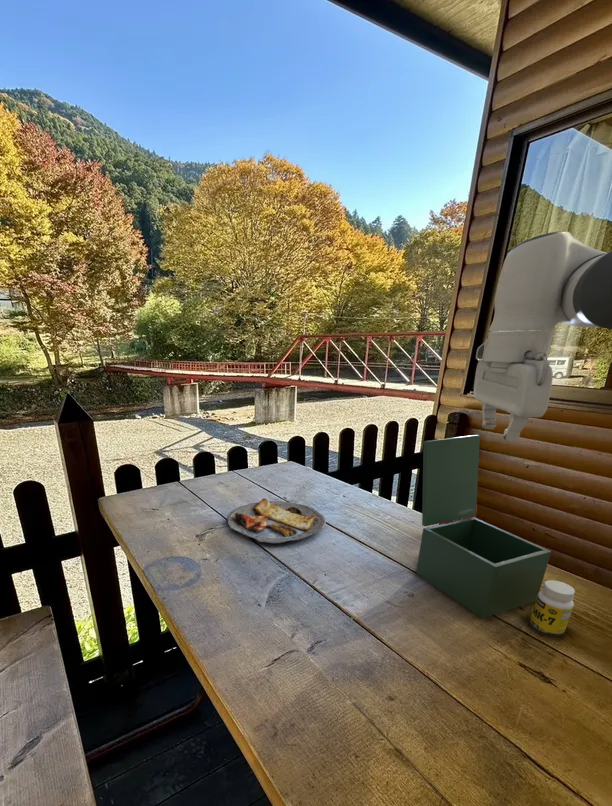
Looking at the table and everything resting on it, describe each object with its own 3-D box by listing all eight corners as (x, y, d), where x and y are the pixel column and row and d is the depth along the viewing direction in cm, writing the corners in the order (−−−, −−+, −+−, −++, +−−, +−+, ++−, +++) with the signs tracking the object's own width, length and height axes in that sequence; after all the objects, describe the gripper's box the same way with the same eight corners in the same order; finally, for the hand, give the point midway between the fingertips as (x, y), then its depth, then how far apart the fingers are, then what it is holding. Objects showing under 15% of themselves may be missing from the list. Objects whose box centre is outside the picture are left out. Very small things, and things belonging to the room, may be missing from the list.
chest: (536, 603, 75) (551, 551, 71) (482, 621, 70) (495, 567, 66) (464, 562, 89) (474, 517, 85) (415, 575, 84) (423, 528, 80)
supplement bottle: (522, 624, 70) (534, 581, 67) (541, 617, 71) (554, 576, 68) (550, 642, 65) (565, 598, 62) (570, 635, 67) (585, 591, 64)
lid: (479, 434, 81) (476, 434, 82) (426, 441, 76) (423, 441, 77) (476, 515, 84) (472, 514, 85) (425, 526, 79) (421, 525, 80)
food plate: (209, 524, 107) (209, 512, 106) (270, 501, 122) (270, 490, 121) (282, 559, 90) (282, 545, 89) (341, 527, 105) (342, 514, 104)
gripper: (575, 352, 56) (549, 450, 61) (510, 348, 75) (495, 423, 80) (524, 353, 57) (503, 448, 62) (473, 348, 76) (460, 422, 81)
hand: (498, 434), depth 71 cm, fingers open, 8 cm apart
